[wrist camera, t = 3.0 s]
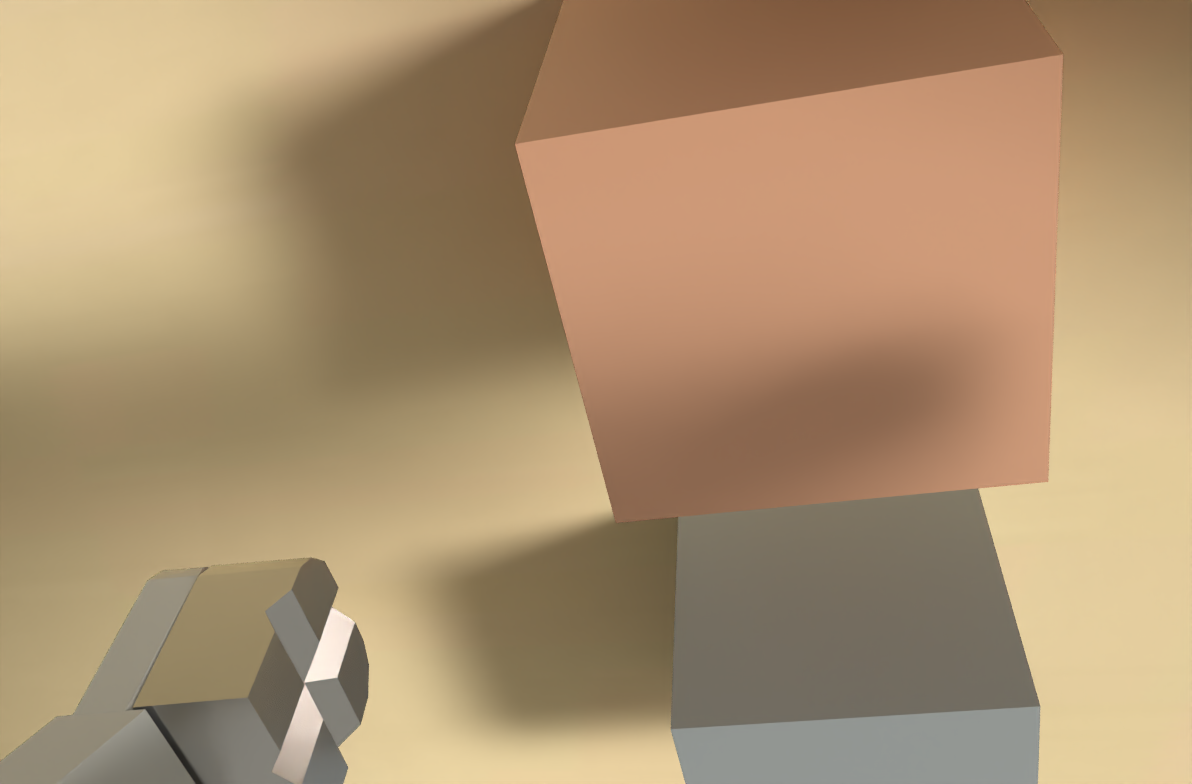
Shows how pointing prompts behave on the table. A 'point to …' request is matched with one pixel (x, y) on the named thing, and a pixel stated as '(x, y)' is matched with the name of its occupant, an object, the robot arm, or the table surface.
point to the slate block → (849, 647)
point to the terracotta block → (801, 244)
